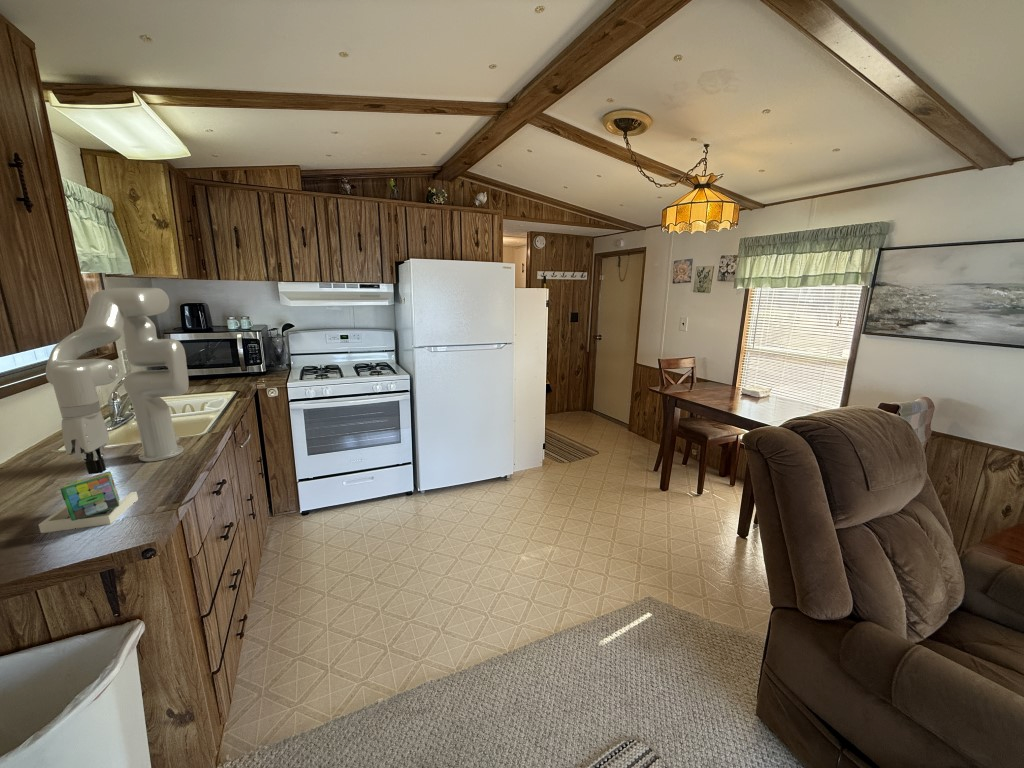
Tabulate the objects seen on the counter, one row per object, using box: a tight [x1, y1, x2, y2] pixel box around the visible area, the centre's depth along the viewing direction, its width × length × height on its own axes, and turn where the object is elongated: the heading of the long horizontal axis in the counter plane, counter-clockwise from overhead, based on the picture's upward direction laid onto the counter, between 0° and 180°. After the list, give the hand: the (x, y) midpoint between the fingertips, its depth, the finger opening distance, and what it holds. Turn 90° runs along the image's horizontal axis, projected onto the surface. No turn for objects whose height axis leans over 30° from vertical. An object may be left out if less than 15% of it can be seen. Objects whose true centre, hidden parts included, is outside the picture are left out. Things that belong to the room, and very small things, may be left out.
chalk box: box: [60, 471, 121, 521], centre depth 109 cm, size 9×9×15 cm
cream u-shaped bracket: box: [38, 491, 139, 534], centre depth 113 cm, size 13×14×2 cm
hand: (97, 472), depth 116 cm, fingers closed
